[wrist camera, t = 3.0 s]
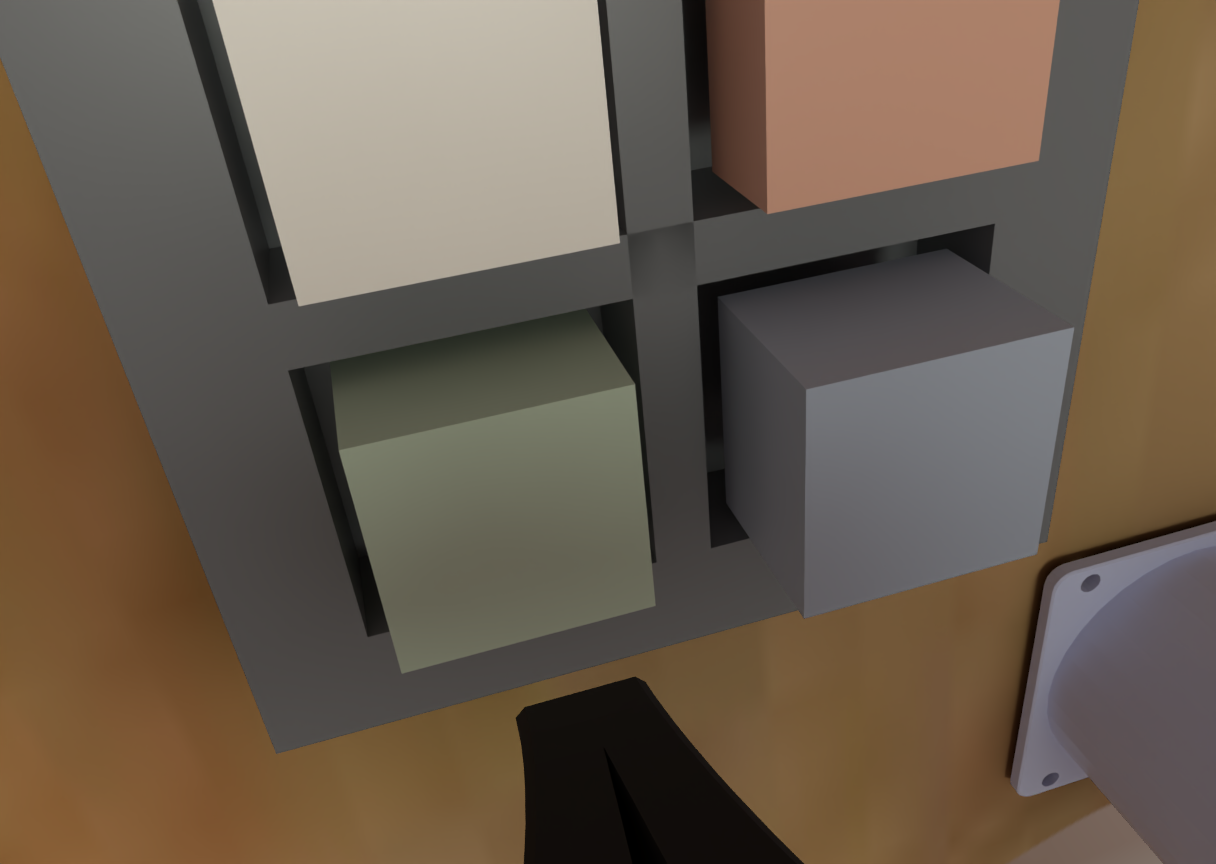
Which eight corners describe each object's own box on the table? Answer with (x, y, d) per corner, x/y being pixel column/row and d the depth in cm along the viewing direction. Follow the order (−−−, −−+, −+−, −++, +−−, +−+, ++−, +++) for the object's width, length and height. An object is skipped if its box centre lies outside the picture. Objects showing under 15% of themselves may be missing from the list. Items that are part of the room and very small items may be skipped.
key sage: (577, 295, 16) (635, 384, 14) (601, 495, 19) (655, 606, 16) (327, 346, 16) (338, 450, 13) (382, 548, 18) (401, 674, 15)
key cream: (544, -122, 12) (586, -116, 11) (580, 196, 14) (619, 243, 13) (206, -80, 12) (193, -64, 10) (296, 249, 14) (298, 306, 12)
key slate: (946, 248, 17) (1073, 327, 14) (929, 452, 19) (1036, 553, 16) (717, 296, 16) (805, 389, 13) (725, 503, 18) (803, 618, 15)
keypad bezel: (1082, -404, 14) (1227, -448, 12) (977, 477, 22) (1053, 547, 20) (-82, -309, 11) (-165, -343, 9) (276, 659, 19) (276, 762, 17)
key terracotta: (983, -177, 13) (1083, -179, 12) (957, 126, 16) (1038, 160, 14) (699, -141, 13) (763, -138, 11) (712, 171, 15) (767, 214, 13)
